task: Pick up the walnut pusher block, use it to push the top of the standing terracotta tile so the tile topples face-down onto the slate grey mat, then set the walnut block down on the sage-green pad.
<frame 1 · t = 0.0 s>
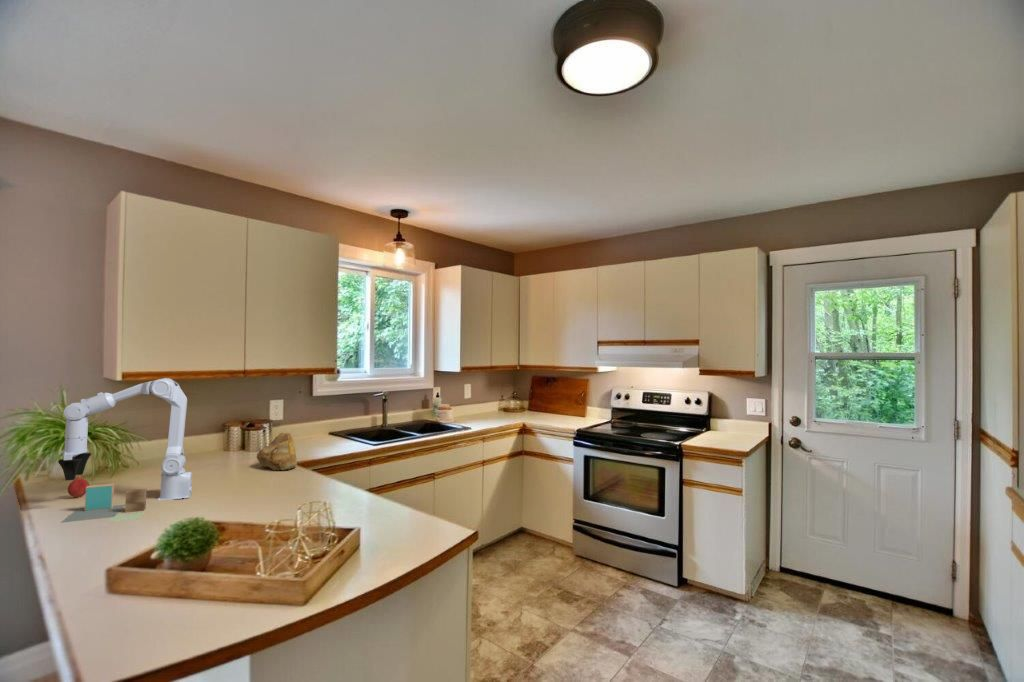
hand: (74, 477, 162), 10 cm above the worktop, tool pointing down, fingers open, 7 cm apart
walnut block: (135, 511, 158), on the worktop
rest pad: (126, 518, 152), on the worktop
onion: (78, 498, 171), on the worktop
tile: (99, 509, 158), resting on mat
mat: (95, 514, 155), on the worktop
rough brown rock: (276, 467, 224), on the worktop
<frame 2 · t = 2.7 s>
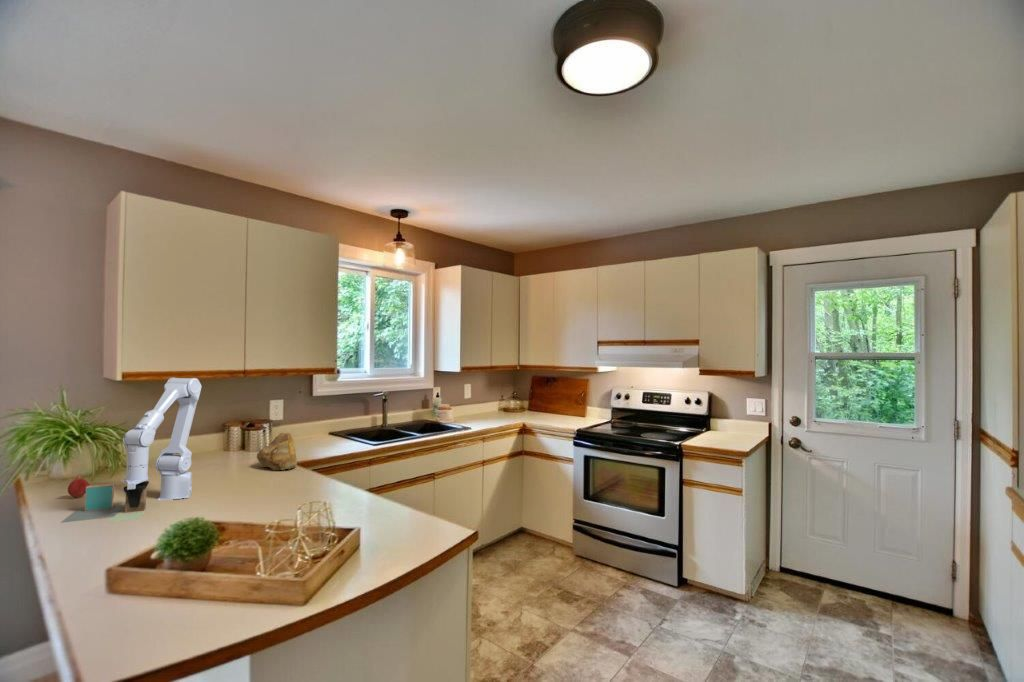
hand: (135, 505, 158), 2 cm above the worktop, tool pointing down, fingers closed on walnut block, 3 cm apart
walnut block: (135, 511, 158), on the worktop, touching gripper
everything else where it was.
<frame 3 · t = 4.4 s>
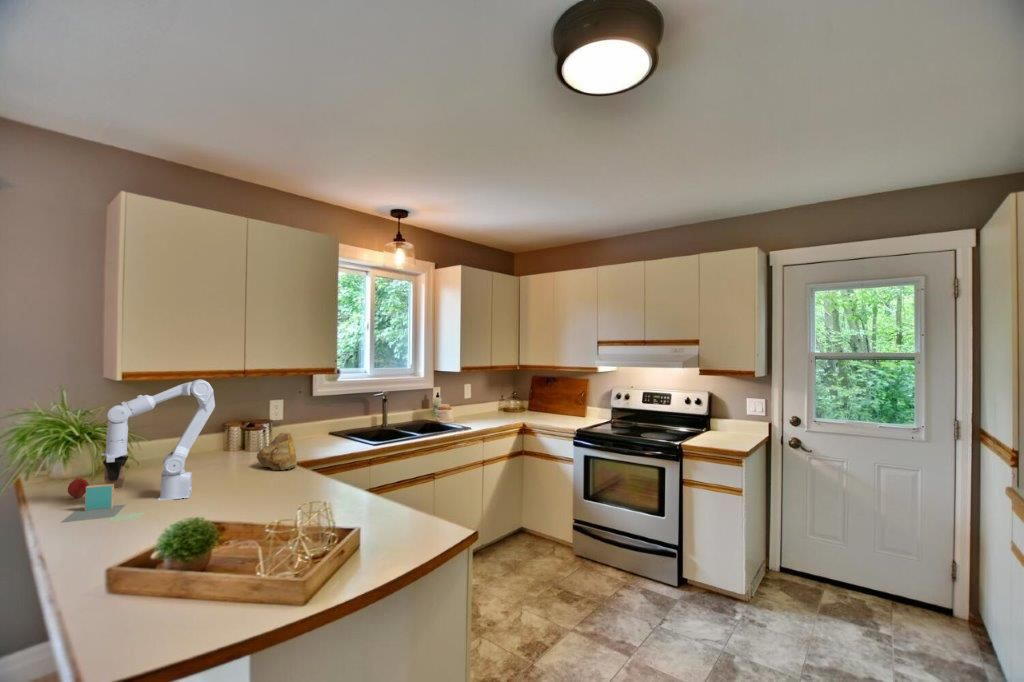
hand: (114, 479, 164), 9 cm above the worktop, tool pointing down, fingers closed on walnut block, 3 cm apart
walnut block: (114, 487, 164), point 6 cm above the worktop, touching gripper
everything else where it was.
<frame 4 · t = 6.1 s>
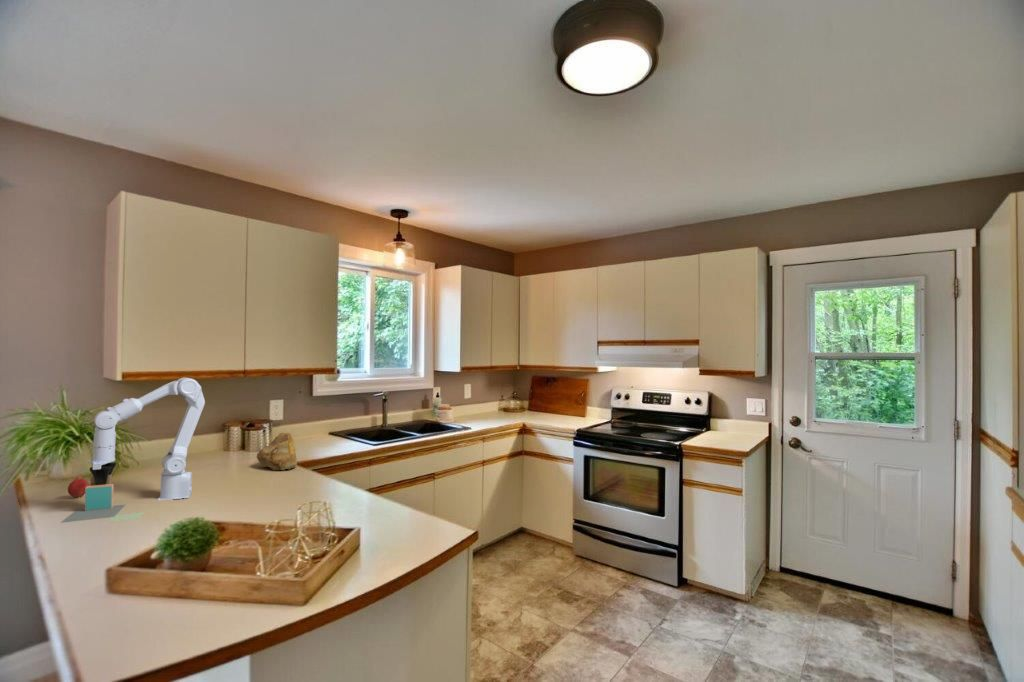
hand: (102, 486, 161), 7 cm above the worktop, tool pointing down, fingers closed on walnut block, 3 cm apart
walnut block: (100, 496, 161), point 4 cm above the worktop, touching gripper
tile: (99, 509, 158), resting on mat, touching gripper
everything else where it was.
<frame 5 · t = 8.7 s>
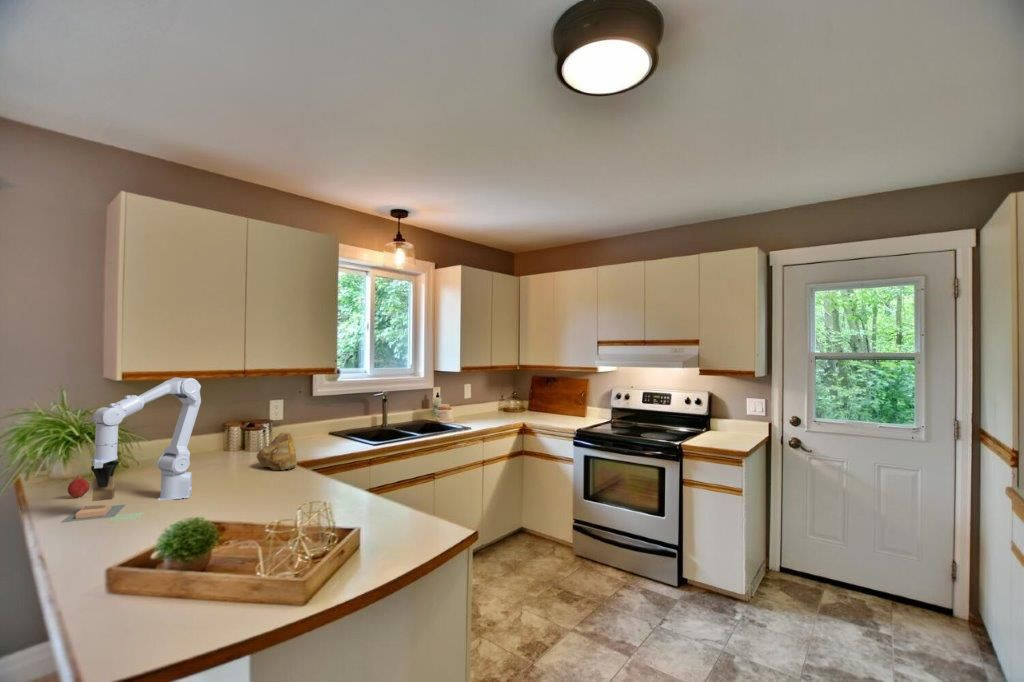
hand: (104, 485, 155), 9 cm above the worktop, tool pointing down, fingers closed on walnut block, 3 cm apart
walnut block: (103, 499, 155), point 5 cm above the worktop, touching gripper
tile: (98, 507, 158), point 1 cm above the worktop, tilted 90°, touching mat
everything else where it was.
when the fingers open (4 cm above the worktop, at t = 10.6 s): walnut block stays where it is, resting on rest pad.
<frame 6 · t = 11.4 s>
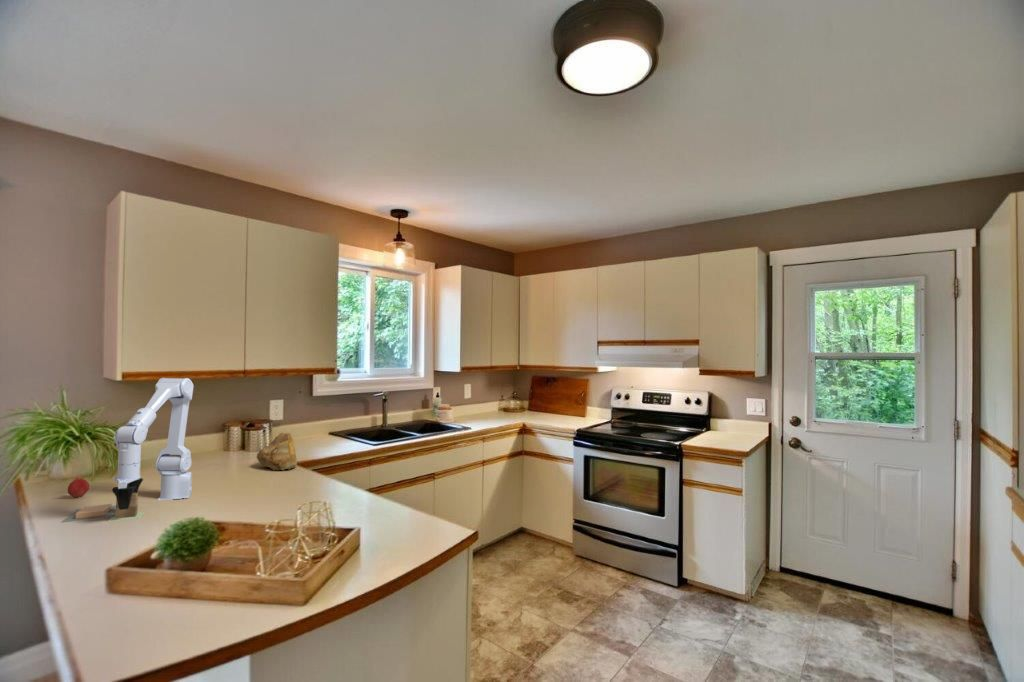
hand: (127, 505, 152), 4 cm above the worktop, tool pointing down, fingers open, 7 cm apart
walnut block: (126, 516, 152), resting on rest pad
everything else where it was.
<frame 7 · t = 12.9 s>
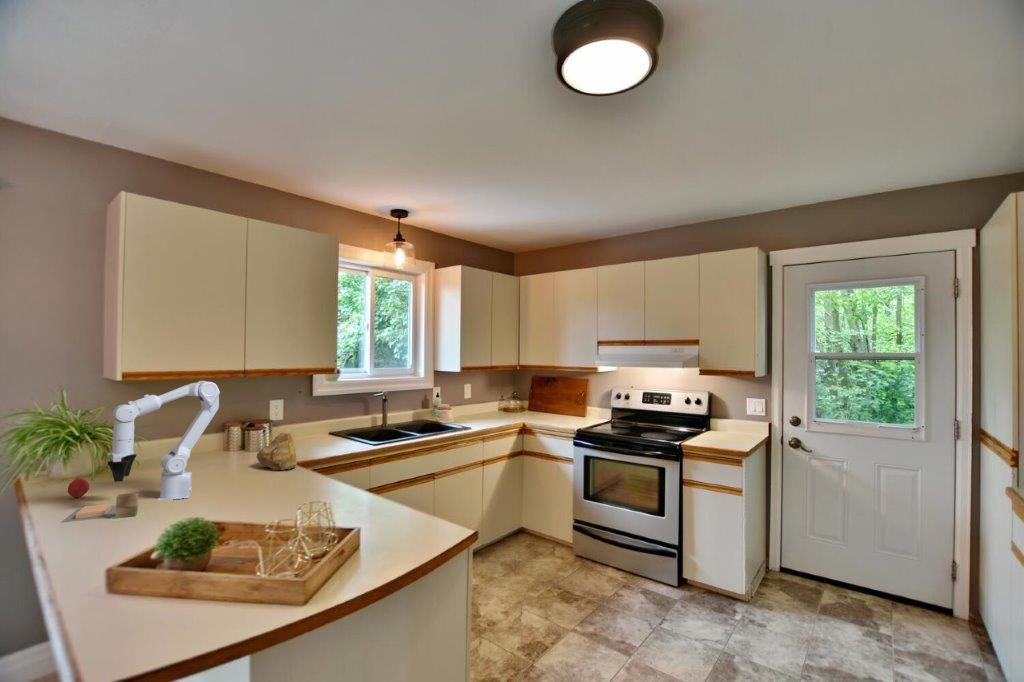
hand: (121, 478, 164), 9 cm above the worktop, tool pointing down, fingers open, 7 cm apart
nothing on the worktop moved.
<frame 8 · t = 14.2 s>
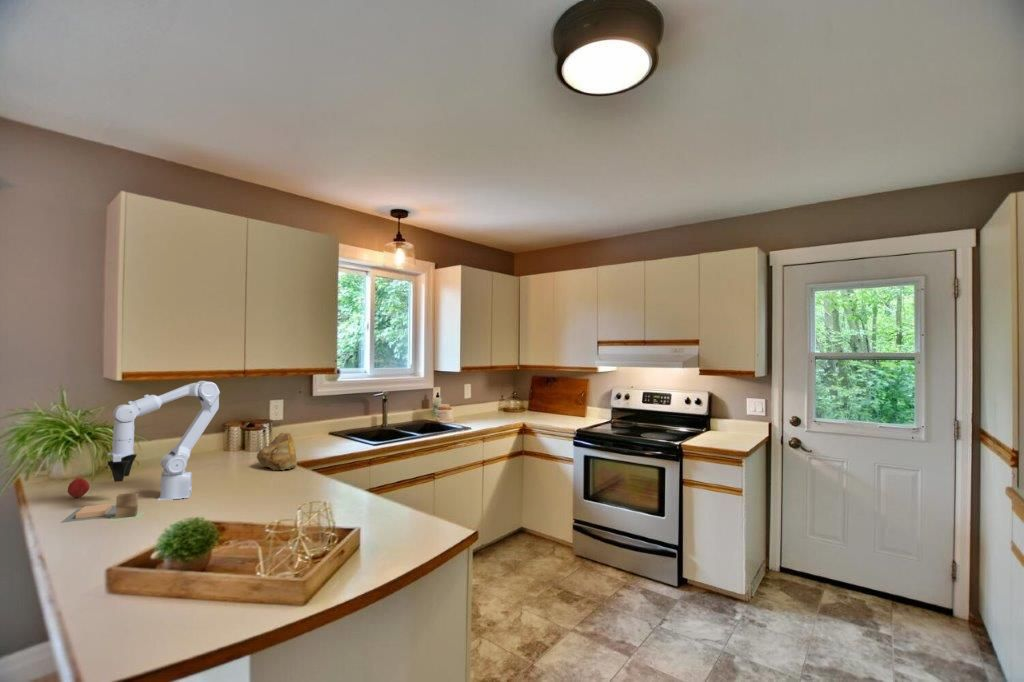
hand: (121, 478, 164), 9 cm above the worktop, tool pointing down, fingers open, 7 cm apart
nothing on the worktop moved.
at the end: tile tilted 90°; tile inside the target area (2.0 cm from its centre), point 1.3 cm above the worktop; walnut block 0.5 cm off-centre on the rest pad, point 0.4 cm above the rest pad's base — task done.
